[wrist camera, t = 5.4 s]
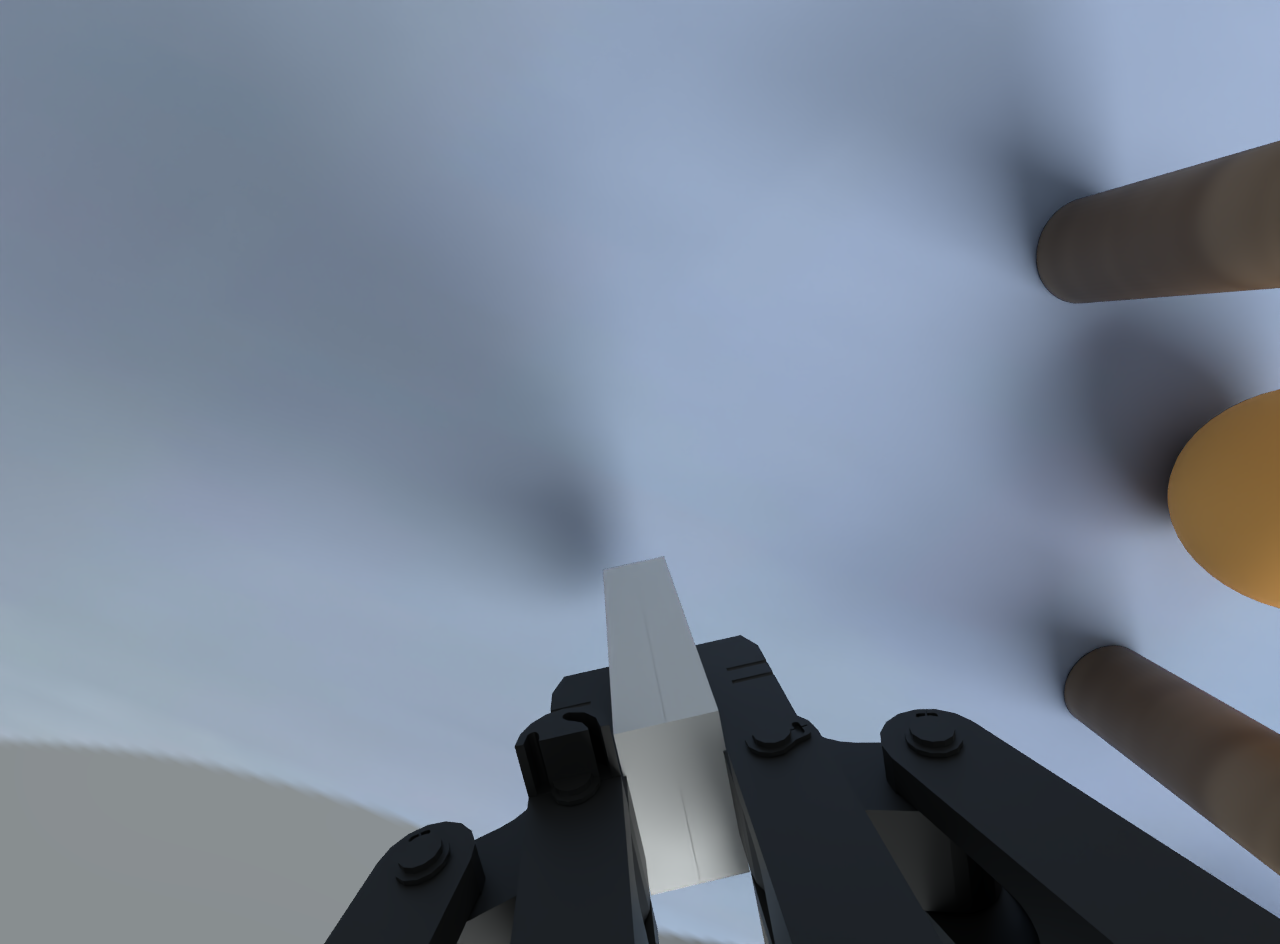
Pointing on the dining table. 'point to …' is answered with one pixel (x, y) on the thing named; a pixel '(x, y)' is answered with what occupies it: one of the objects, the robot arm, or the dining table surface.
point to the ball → (1233, 497)
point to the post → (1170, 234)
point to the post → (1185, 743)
